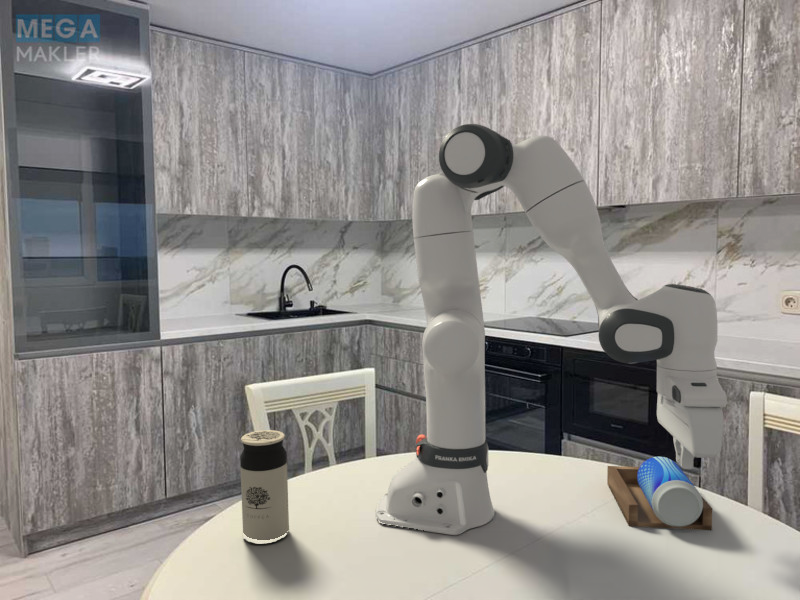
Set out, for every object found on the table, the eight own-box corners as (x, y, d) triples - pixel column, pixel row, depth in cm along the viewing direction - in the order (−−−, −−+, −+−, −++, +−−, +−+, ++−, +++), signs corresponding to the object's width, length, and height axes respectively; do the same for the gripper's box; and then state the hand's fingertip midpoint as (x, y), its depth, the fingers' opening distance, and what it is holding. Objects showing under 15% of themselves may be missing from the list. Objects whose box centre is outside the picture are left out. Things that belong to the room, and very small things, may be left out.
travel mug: (261, 522, 110) (257, 427, 109) (297, 529, 107) (294, 432, 106) (233, 541, 103) (229, 440, 102) (272, 549, 100) (268, 445, 99)
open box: (628, 526, 106) (629, 504, 106) (607, 484, 126) (607, 465, 125) (711, 530, 104) (712, 508, 104) (677, 487, 124) (677, 468, 123)
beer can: (708, 486, 101) (681, 455, 117) (656, 480, 103) (636, 450, 119) (702, 533, 102) (676, 496, 118) (651, 526, 104) (632, 490, 119)
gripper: (648, 370, 108) (647, 445, 109) (686, 398, 87) (684, 489, 88) (684, 371, 107) (683, 446, 108) (732, 398, 86) (730, 490, 88)
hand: (684, 466), depth 98 cm, fingers closed
